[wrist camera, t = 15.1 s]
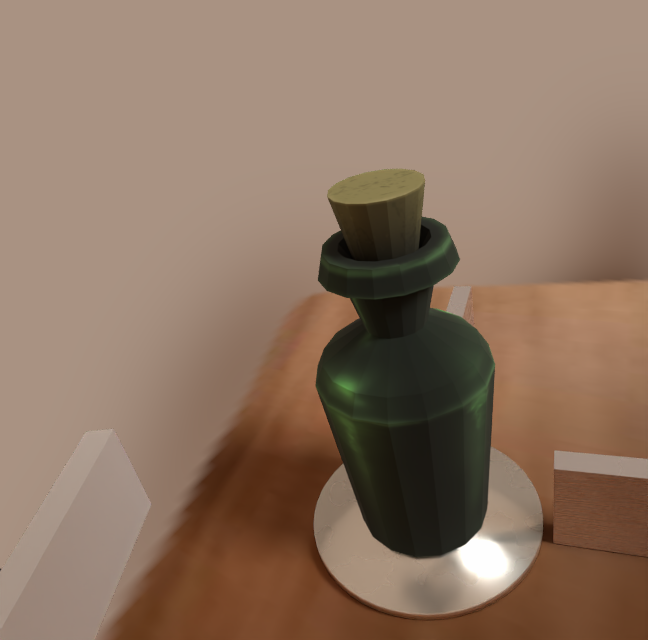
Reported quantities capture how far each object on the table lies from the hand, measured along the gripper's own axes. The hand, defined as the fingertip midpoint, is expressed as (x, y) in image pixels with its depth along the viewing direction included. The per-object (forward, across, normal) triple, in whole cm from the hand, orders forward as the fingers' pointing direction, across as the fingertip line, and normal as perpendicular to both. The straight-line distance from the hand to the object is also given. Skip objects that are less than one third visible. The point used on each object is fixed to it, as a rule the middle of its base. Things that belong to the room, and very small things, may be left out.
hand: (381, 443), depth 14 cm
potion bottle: (+12, 0, -16) cm, 20 cm away
